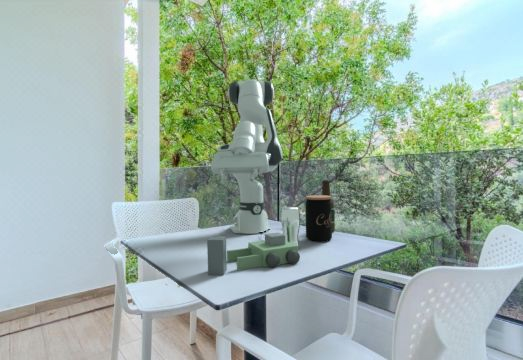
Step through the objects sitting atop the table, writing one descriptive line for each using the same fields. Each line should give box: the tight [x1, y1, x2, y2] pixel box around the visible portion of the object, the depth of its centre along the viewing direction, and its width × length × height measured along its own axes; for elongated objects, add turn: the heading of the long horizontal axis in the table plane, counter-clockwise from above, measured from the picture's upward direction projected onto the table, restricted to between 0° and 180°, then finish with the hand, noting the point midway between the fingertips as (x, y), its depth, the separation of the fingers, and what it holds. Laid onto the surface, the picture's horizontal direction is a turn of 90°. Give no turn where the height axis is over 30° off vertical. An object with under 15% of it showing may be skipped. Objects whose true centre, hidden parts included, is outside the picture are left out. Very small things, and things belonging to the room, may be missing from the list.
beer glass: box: [280, 206, 301, 249], centre depth 117 cm, size 7×7×15 cm
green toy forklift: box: [226, 232, 301, 271], centre depth 101 cm, size 16×20×8 cm
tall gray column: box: [206, 235, 228, 276], centre depth 90 cm, size 4×4×10 cm
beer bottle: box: [321, 179, 336, 233], centre depth 146 cm, size 8×8×24 cm
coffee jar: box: [305, 194, 333, 243], centre depth 130 cm, size 11×11×18 cm
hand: (237, 180), depth 104 cm, fingers open, 8 cm apart
